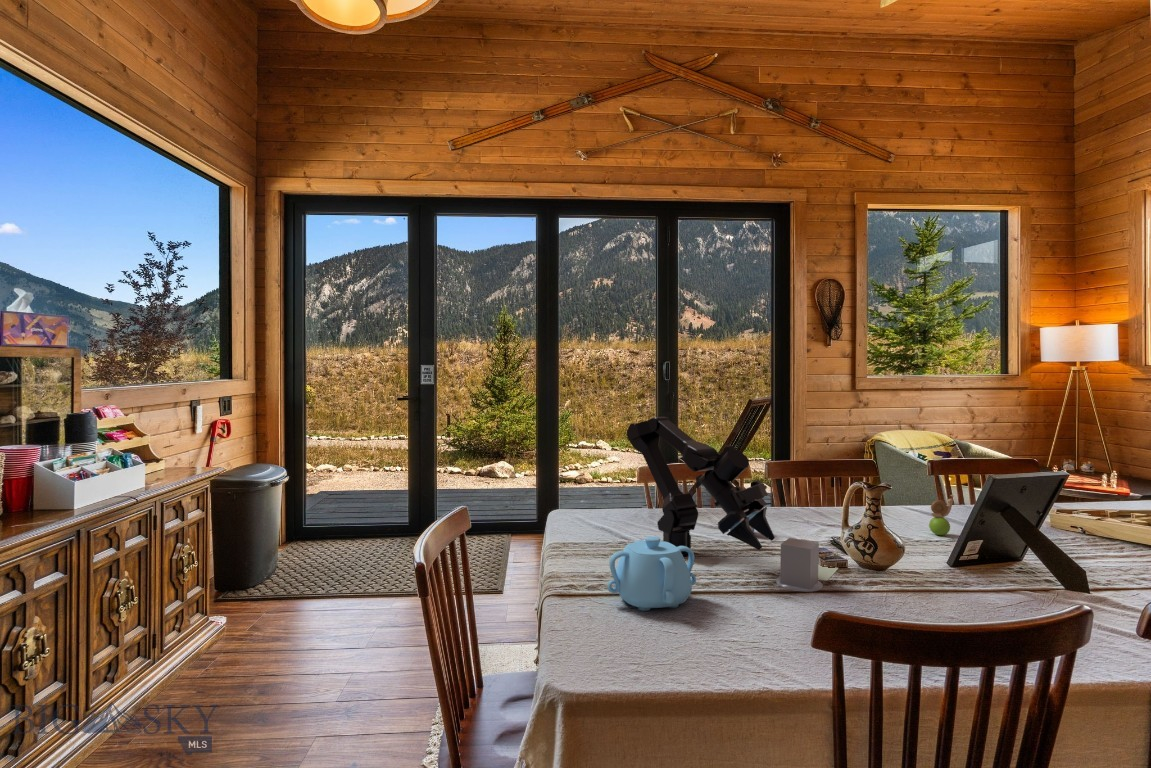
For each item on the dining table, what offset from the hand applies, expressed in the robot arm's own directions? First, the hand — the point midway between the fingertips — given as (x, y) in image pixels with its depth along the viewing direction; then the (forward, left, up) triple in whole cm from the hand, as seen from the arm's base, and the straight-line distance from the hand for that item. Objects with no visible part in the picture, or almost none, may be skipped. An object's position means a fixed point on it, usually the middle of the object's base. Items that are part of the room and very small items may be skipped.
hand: (767, 543), depth 149 cm
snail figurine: (+73, +14, -8) cm, 75 cm away
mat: (+13, +1, -8) cm, 15 cm away
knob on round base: (+4, -6, -8) cm, 11 cm away
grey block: (+4, -6, -8) cm, 11 cm away
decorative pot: (-32, -3, -8) cm, 33 cm away
